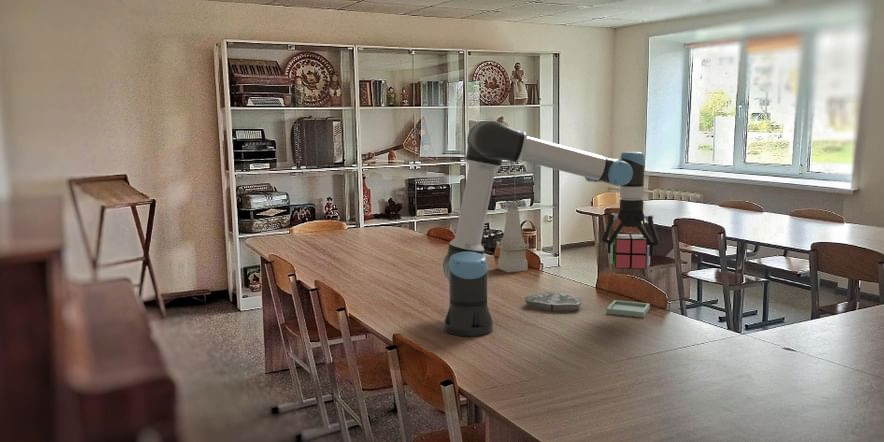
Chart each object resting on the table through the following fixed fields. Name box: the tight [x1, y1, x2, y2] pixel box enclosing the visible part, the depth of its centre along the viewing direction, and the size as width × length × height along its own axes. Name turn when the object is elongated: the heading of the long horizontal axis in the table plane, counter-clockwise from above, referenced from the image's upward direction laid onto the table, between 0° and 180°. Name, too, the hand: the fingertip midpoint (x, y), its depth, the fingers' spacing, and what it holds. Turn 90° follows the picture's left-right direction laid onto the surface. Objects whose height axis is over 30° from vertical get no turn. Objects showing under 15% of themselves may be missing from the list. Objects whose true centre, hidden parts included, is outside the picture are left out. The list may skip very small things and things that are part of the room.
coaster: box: [606, 299, 651, 319], centre depth 234 cm, size 12×12×2 cm
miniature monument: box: [496, 201, 530, 273], centre depth 301 cm, size 10×10×30 cm
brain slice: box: [524, 291, 583, 312], centre depth 242 cm, size 20×17×3 cm
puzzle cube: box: [613, 233, 648, 270], centre depth 231 cm, size 10×10×10 cm
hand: (629, 264), depth 231 cm, fingers closed on puzzle cube, 11 cm apart
